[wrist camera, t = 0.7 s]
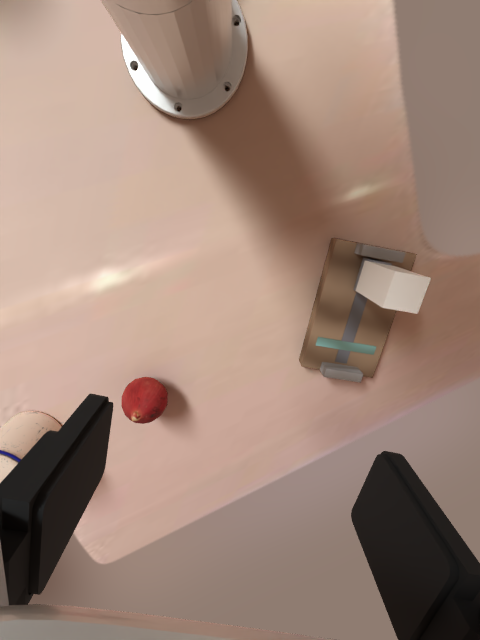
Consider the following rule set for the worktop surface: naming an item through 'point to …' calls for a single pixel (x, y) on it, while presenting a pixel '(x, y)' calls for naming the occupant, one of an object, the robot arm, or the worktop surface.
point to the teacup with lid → (22, 437)
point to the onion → (144, 400)
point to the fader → (391, 285)
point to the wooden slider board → (348, 314)
